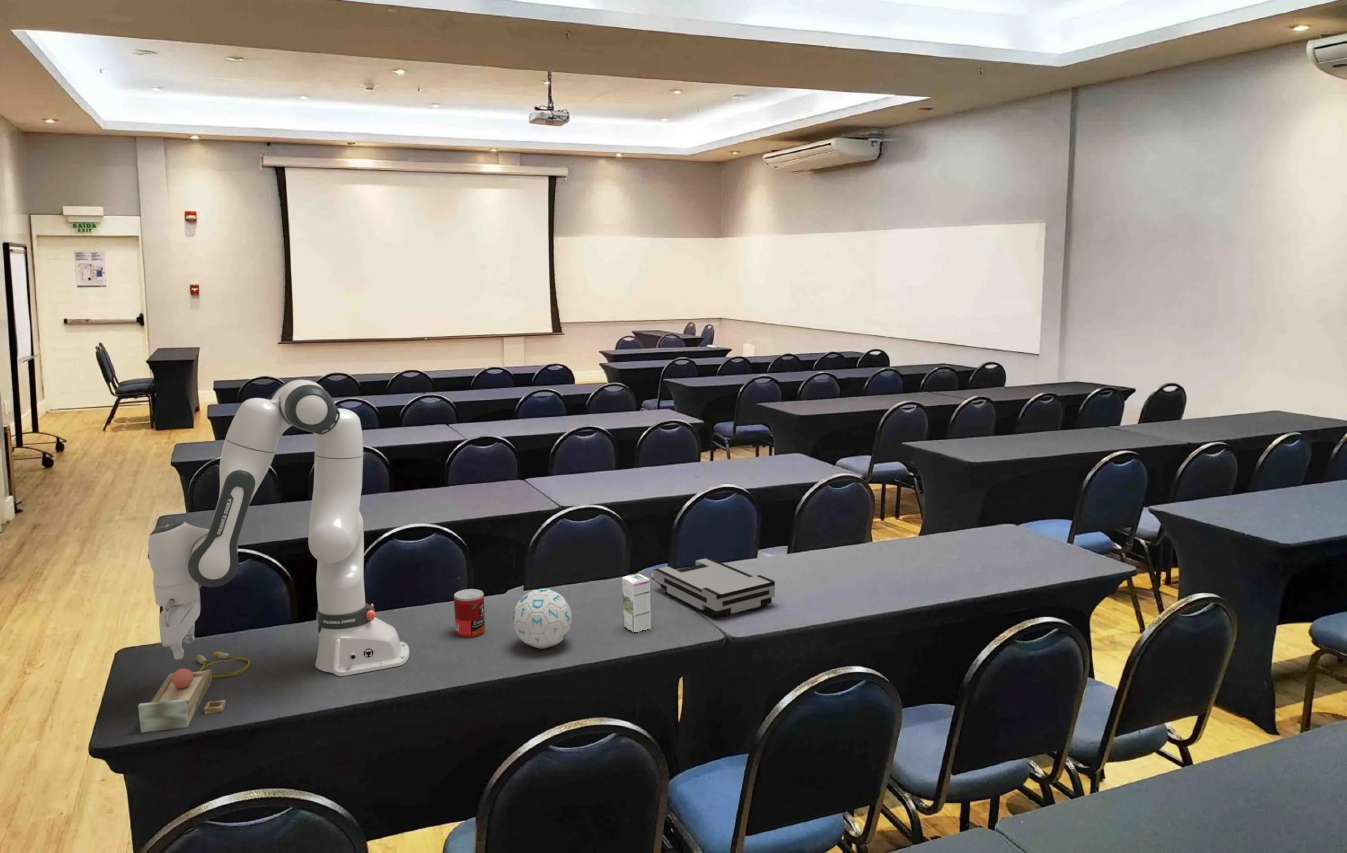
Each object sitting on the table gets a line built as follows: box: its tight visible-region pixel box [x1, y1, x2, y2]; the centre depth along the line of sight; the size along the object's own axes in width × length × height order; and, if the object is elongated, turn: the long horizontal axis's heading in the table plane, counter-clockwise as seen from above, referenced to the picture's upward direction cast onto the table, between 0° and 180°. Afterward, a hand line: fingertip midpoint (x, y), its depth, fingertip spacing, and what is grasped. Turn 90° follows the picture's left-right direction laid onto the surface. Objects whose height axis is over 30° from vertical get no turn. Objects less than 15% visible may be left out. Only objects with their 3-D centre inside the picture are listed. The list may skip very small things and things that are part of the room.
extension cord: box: [195, 650, 251, 679], centre depth 232 cm, size 12×16×2 cm
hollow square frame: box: [203, 699, 227, 715], centre depth 209 cm, size 4×4×1 cm
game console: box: [653, 557, 776, 620], centre depth 276 cm, size 21×32×8 cm, turn 34°
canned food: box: [453, 588, 486, 638], centre depth 251 cm, size 8×8×11 cm
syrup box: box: [621, 573, 652, 634], centre depth 253 cm, size 6×6×14 cm
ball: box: [172, 667, 193, 688], centre depth 215 cm, size 4×4×4 cm
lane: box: [137, 668, 213, 733], centre depth 211 cm, size 9×24×6 cm, turn 14°
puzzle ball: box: [512, 588, 573, 649], centre depth 242 cm, size 15×15×15 cm
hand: (184, 649), depth 216 cm, fingers open, 8 cm apart
